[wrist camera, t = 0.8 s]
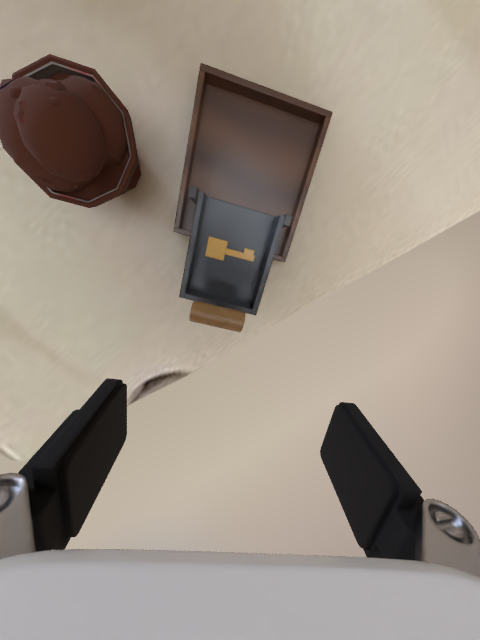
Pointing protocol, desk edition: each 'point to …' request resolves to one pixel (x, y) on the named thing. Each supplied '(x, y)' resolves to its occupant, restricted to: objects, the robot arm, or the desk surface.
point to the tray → (250, 150)
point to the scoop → (228, 262)
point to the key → (226, 250)
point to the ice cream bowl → (68, 132)
